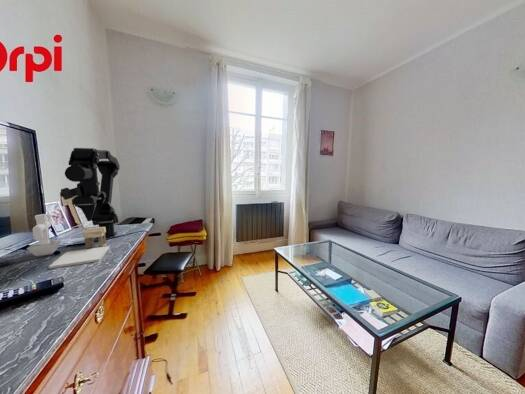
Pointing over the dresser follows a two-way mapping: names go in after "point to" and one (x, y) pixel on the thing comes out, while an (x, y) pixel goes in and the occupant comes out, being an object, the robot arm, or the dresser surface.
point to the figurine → (43, 237)
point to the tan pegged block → (94, 232)
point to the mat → (80, 257)
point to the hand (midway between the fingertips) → (93, 218)
